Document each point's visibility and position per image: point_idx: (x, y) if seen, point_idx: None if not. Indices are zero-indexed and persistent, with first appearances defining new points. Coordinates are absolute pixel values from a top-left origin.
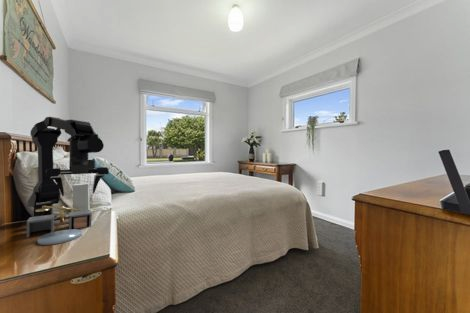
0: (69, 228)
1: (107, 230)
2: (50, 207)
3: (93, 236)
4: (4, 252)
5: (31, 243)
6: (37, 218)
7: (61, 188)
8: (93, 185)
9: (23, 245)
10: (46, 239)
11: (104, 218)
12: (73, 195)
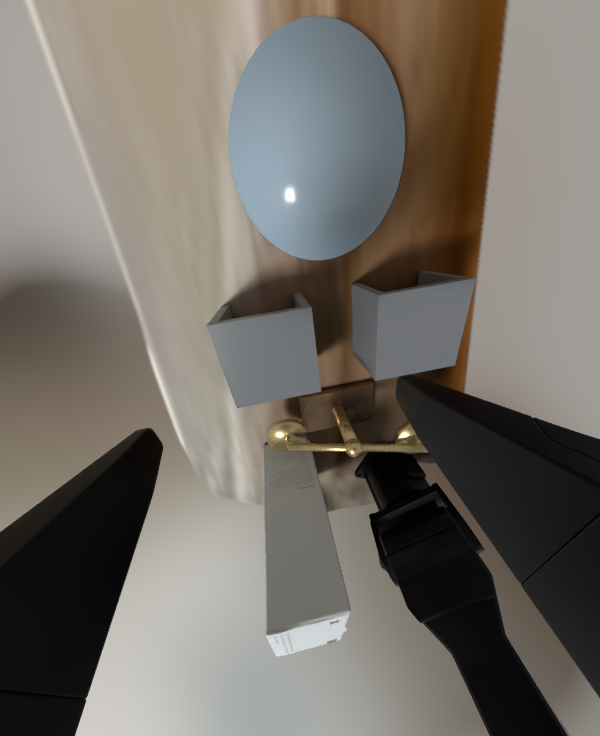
0: (300, 294)
1: (108, 174)
2: (397, 444)
3: (153, 69)
4: (501, 56)
5: (415, 153)
6: (435, 326)
7: (486, 413)
8: (108, 541)
9: (440, 139)
10: (373, 102)
11: (198, 409)
12: (329, 534)
